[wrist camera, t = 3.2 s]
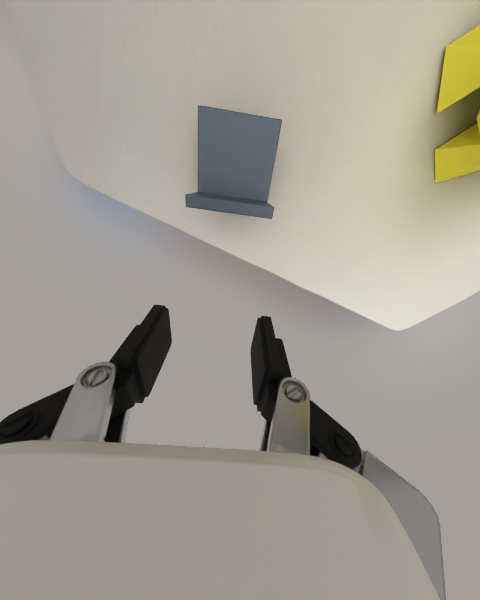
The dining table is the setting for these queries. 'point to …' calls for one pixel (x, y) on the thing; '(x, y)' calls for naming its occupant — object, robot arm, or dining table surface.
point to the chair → (235, 162)
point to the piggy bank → (455, 85)
